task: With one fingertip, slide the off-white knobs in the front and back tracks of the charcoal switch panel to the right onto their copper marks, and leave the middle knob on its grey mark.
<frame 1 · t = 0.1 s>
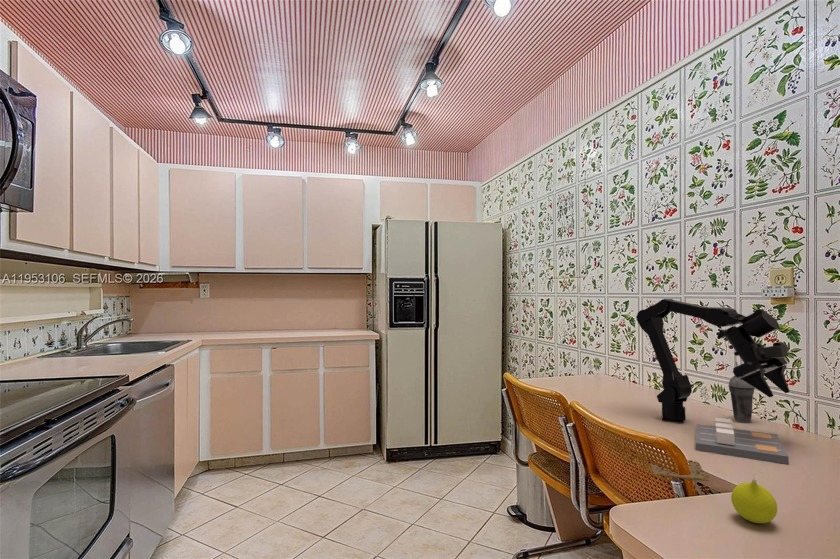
hand: (779, 394, 122), 15 cm above the table, tool tilted 35°, fingers open, 9 cm apart
switch panel: (737, 445, 124), on the table
slider far: (723, 425, 131), point 4 cm above the table, slide at 0.0 cm
beverage cup: (742, 421, 147), on the table
speckled tan slab: (676, 470, 109), on the table
slider middle: (724, 430, 126), point 4 cm above the table, slide at 0.0 cm
slider near: (725, 436, 121), point 4 cm above the table, slide at 0.0 cm
ornament: (754, 522, 84), on the table
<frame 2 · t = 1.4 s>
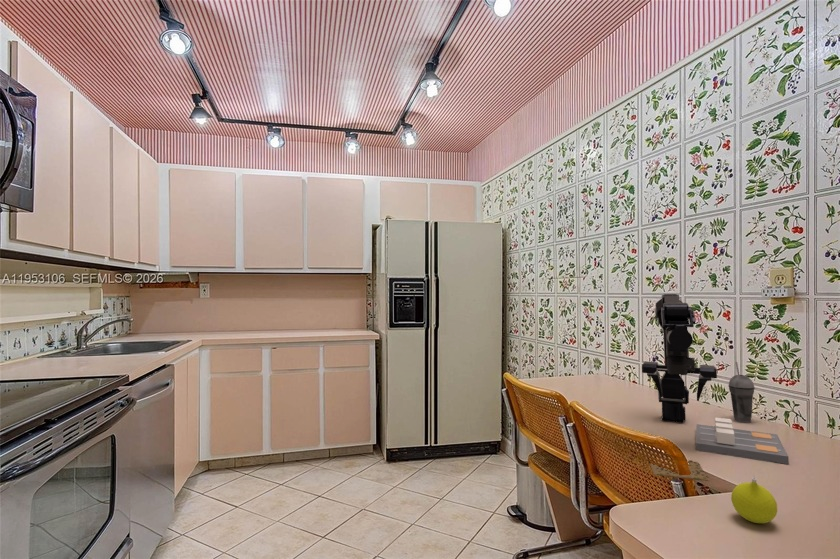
hand: (679, 398, 127), 13 cm above the table, tool pointing down, fingers open, 9 cm apart
nothing on the table moved.
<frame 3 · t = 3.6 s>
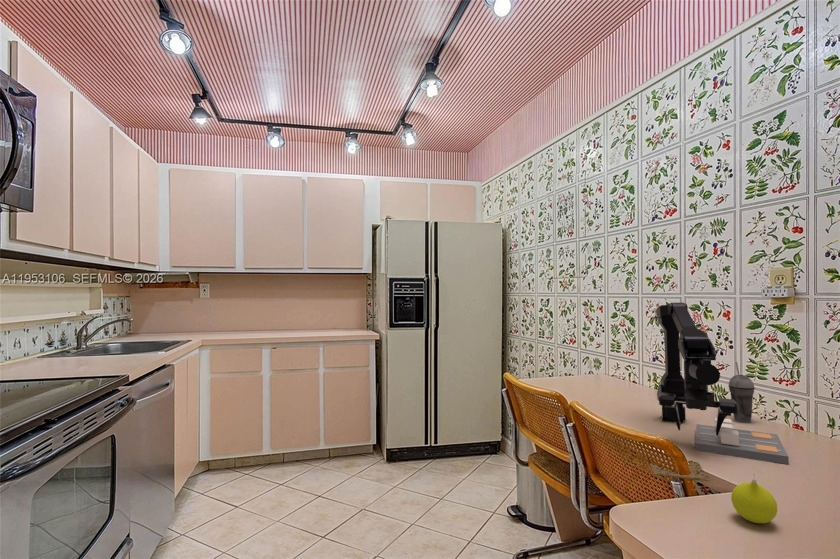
hand: (697, 432, 124), 4 cm above the table, tool pointing down, fingers open, 9 cm apart
slider near: (729, 437, 120), point 4 cm above the table, slide at 1.0 cm, touching gripper
everything else where it was.
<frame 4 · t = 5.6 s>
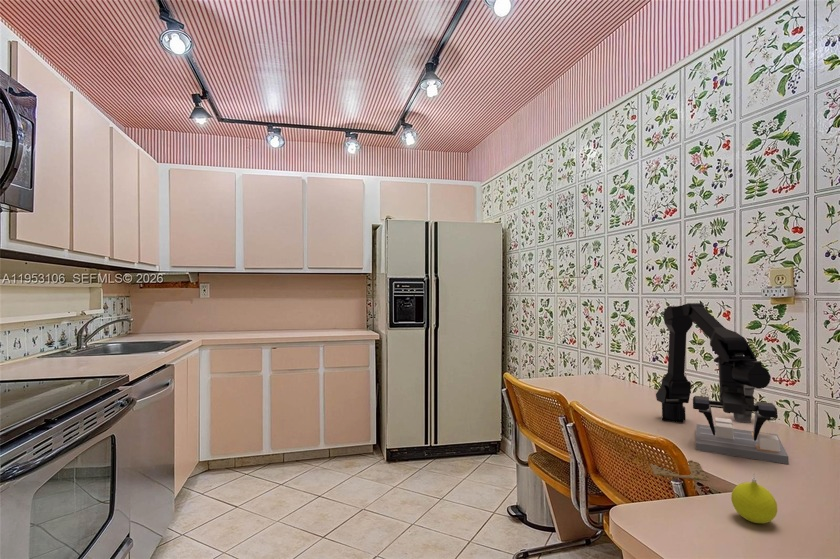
hand: (734, 437, 120), 4 cm above the table, tool pointing down, fingers open, 9 cm apart
slider near: (768, 442, 116), point 4 cm above the table, slide at 9.5 cm, touching gripper
everything else where it was.
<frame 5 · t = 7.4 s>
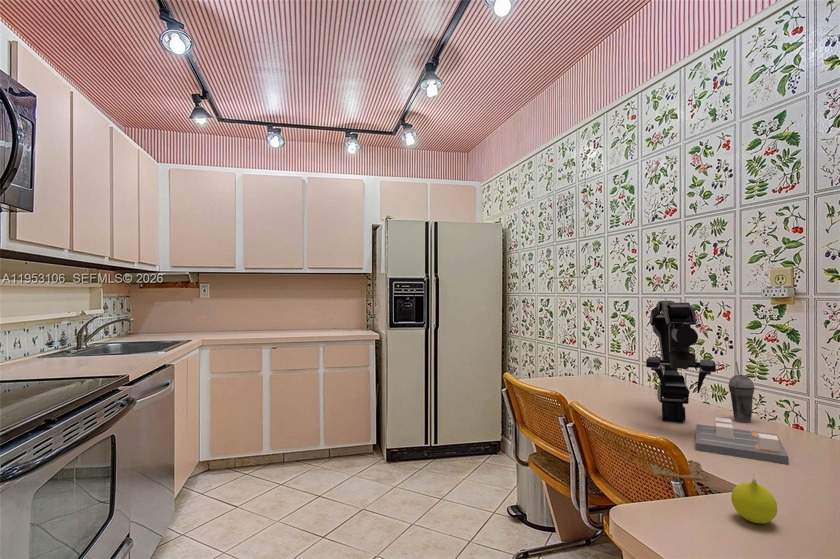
hand: (680, 391, 137), 13 cm above the table, tool pointing down, fingers open, 9 cm apart
slider near: (768, 442, 116), point 4 cm above the table, slide at 9.5 cm
everything else where it was.
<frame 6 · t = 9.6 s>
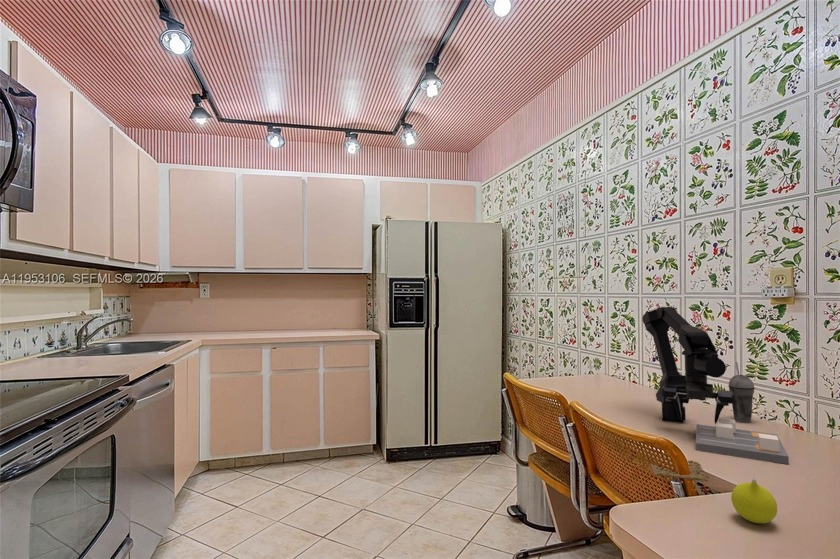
hand: (697, 421, 134), 4 cm above the table, tool pointing down, fingers open, 9 cm apart
slider far: (727, 425, 130), point 4 cm above the table, slide at 0.9 cm, touching gripper
everything else where it was.
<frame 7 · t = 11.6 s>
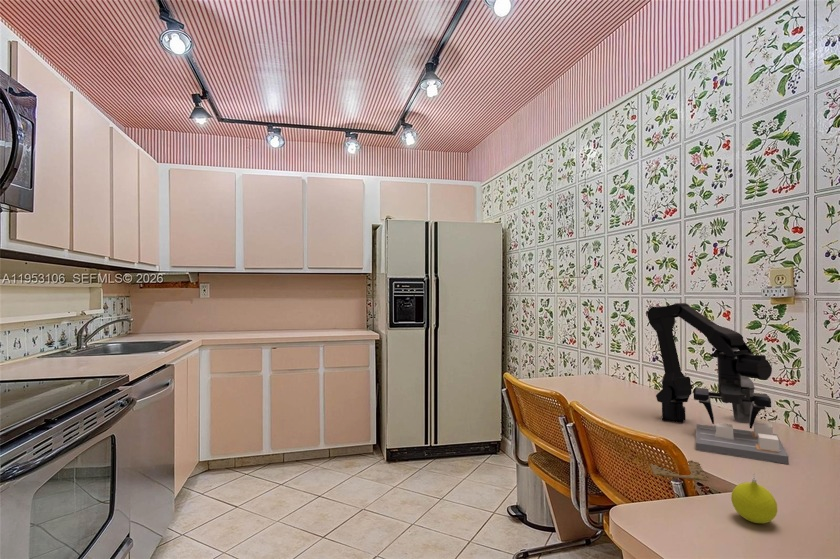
hand: (731, 425, 130), 4 cm above the table, tool pointing down, fingers open, 9 cm apart
slider far: (763, 429, 126), point 4 cm above the table, slide at 9.4 cm, touching gripper
everything else where it was.
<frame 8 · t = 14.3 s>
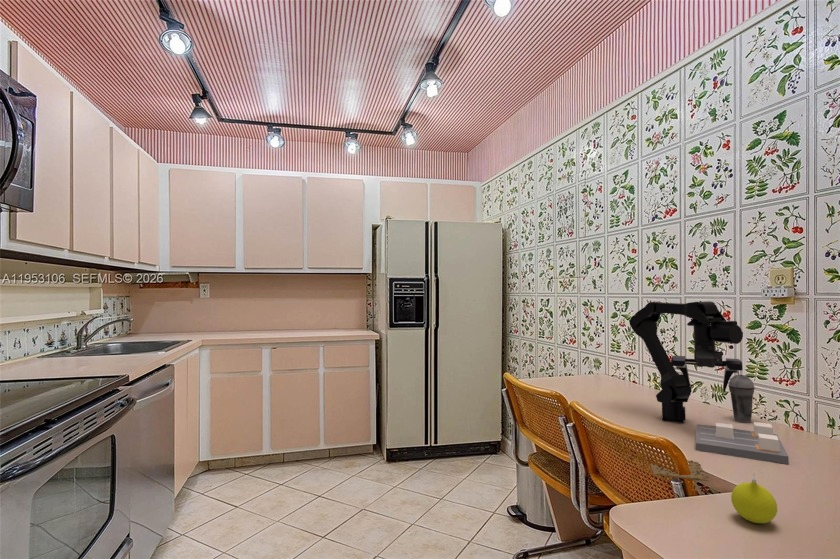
hand: (706, 389, 138), 13 cm above the table, tool pointing down, fingers open, 9 cm apart
slider far: (763, 429, 126), point 4 cm above the table, slide at 9.5 cm
everything else where it was.
at the end: slider near slide at 9.5 cm; slider far slide at 9.5 cm; slider middle slide at 0.0 cm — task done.
